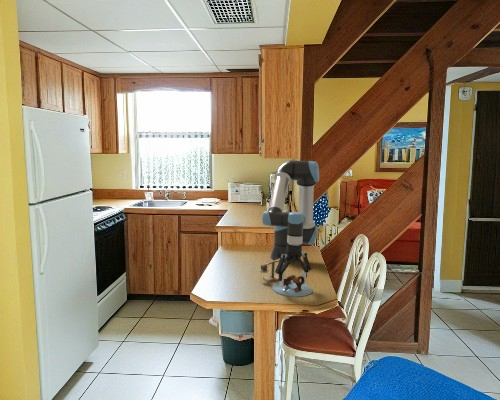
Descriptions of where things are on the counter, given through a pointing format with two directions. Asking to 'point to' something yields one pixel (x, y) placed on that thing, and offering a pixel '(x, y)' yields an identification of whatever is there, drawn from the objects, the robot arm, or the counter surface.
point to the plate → (292, 290)
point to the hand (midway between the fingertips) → (292, 285)
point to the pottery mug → (295, 280)
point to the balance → (264, 270)
